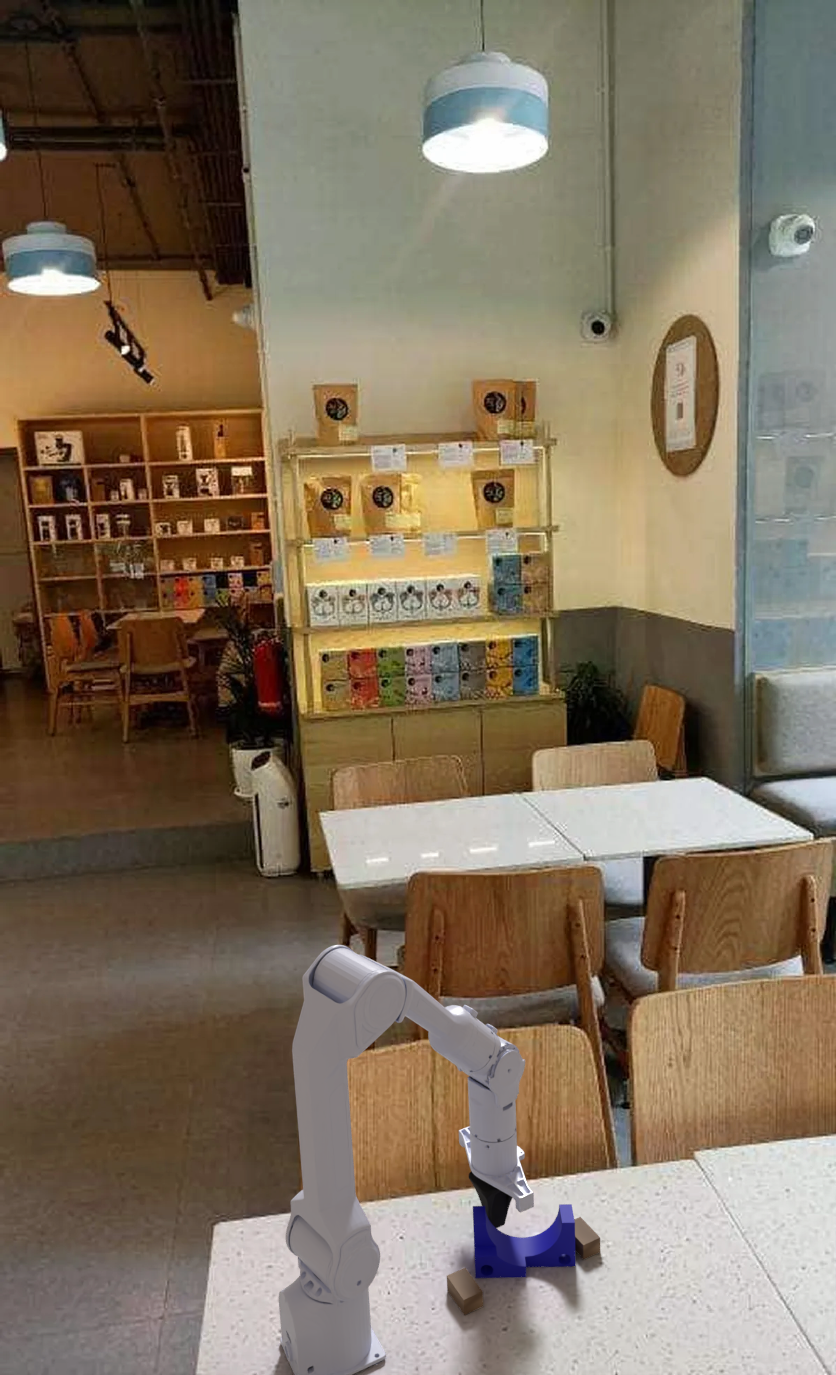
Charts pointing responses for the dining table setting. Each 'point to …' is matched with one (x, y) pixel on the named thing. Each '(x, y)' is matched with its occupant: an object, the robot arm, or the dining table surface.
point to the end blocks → (472, 1295)
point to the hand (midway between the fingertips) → (496, 1225)
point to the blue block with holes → (522, 1246)
